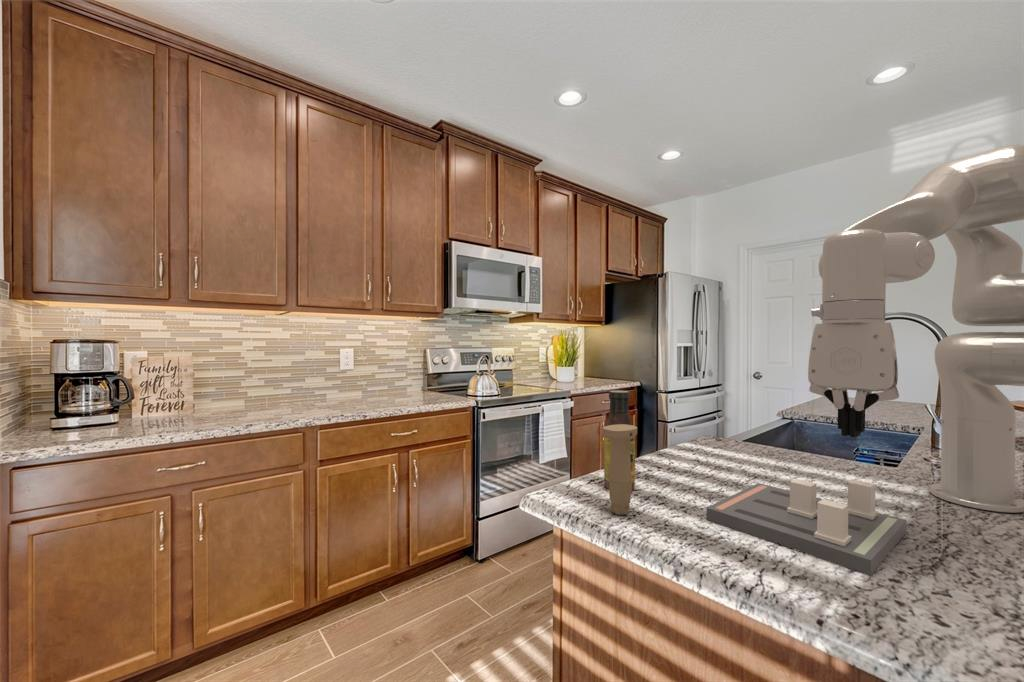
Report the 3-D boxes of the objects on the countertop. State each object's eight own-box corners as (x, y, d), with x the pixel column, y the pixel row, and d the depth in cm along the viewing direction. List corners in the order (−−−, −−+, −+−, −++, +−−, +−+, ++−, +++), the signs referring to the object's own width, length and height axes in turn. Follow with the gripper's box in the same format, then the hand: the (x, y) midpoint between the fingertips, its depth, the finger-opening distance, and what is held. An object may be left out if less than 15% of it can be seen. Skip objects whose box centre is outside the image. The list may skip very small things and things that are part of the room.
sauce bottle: (636, 494, 85) (636, 393, 85) (604, 492, 86) (604, 392, 86) (634, 483, 92) (634, 389, 91) (603, 481, 93) (603, 389, 93)
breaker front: (821, 531, 64) (821, 497, 64) (851, 540, 61) (851, 505, 61) (814, 537, 62) (814, 502, 62) (844, 546, 59) (844, 510, 59)
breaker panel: (758, 493, 86) (758, 482, 86) (906, 532, 68) (906, 519, 68) (706, 519, 73) (706, 507, 73) (870, 575, 56) (871, 560, 56)
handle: (642, 512, 77) (642, 427, 76) (618, 521, 73) (618, 432, 73) (621, 503, 80) (621, 423, 80) (597, 512, 77) (597, 427, 76)
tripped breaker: (794, 507, 73) (794, 477, 73) (819, 514, 70) (819, 483, 70) (787, 511, 71) (787, 481, 71) (812, 519, 68) (812, 487, 68)
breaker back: (850, 508, 73) (850, 478, 73) (878, 515, 70) (878, 484, 70) (844, 512, 71) (845, 482, 71) (872, 520, 68) (873, 488, 68)
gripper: (787, 315, 69) (786, 430, 69) (913, 310, 57) (911, 449, 57) (805, 316, 74) (803, 424, 74) (925, 313, 62) (923, 441, 62)
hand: (851, 435), depth 65 cm, fingers closed
